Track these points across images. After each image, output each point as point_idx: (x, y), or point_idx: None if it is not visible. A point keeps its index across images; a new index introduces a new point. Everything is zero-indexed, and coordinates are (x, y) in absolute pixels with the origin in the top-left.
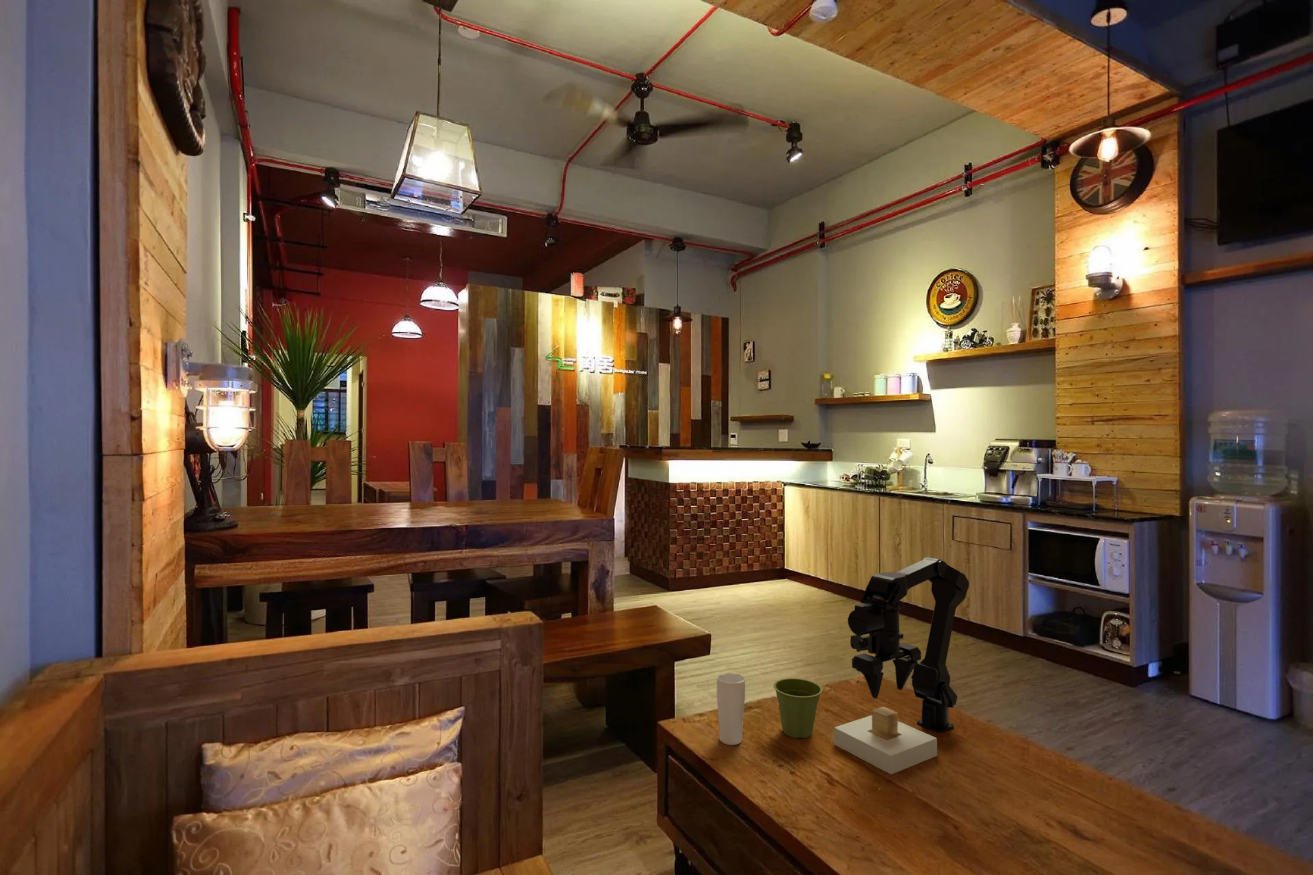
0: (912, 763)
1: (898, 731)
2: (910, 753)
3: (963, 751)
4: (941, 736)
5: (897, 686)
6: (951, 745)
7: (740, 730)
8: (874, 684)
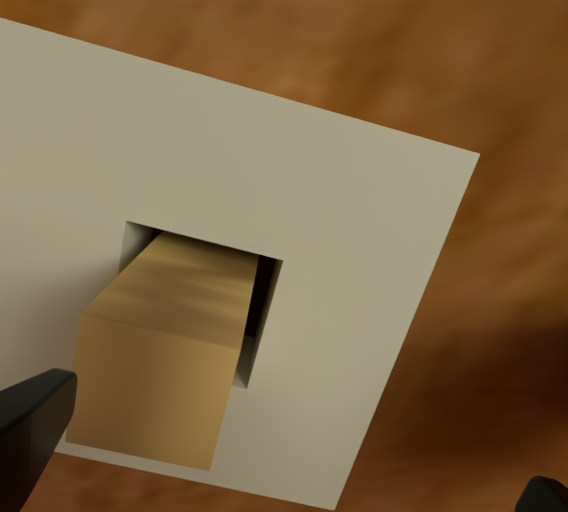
0: None
1: (268, 359)
2: None
3: (440, 496)
4: (540, 401)
5: (548, 499)
6: (468, 453)
7: None
8: None
